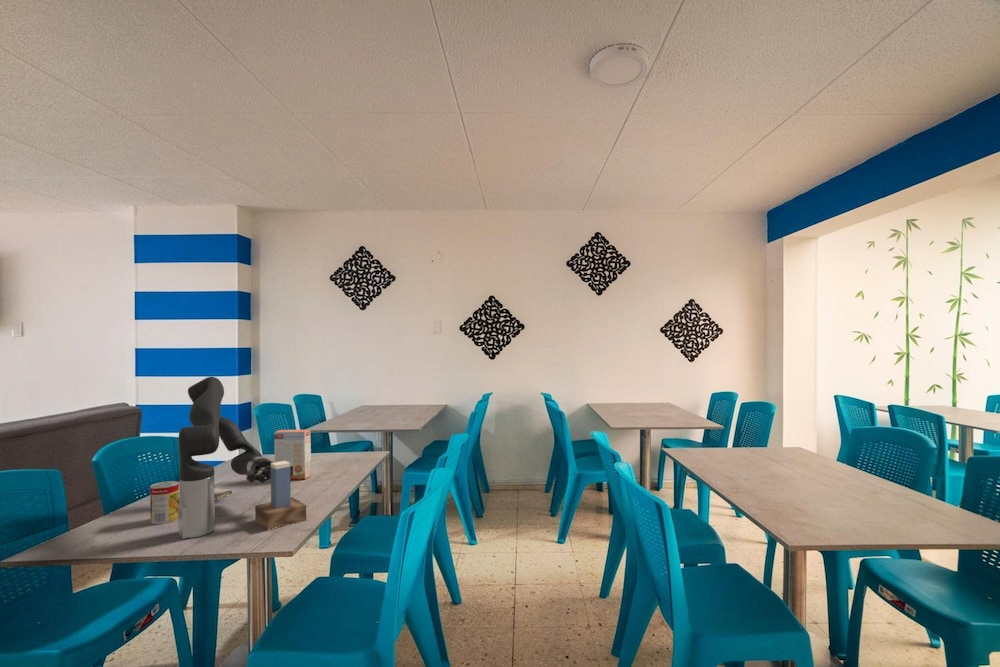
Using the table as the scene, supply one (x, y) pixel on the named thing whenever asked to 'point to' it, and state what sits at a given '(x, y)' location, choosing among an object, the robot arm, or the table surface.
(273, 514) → the display plinth
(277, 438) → the cracker box
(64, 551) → the table surface
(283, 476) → the carton
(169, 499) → the canned food
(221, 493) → the washcloth
